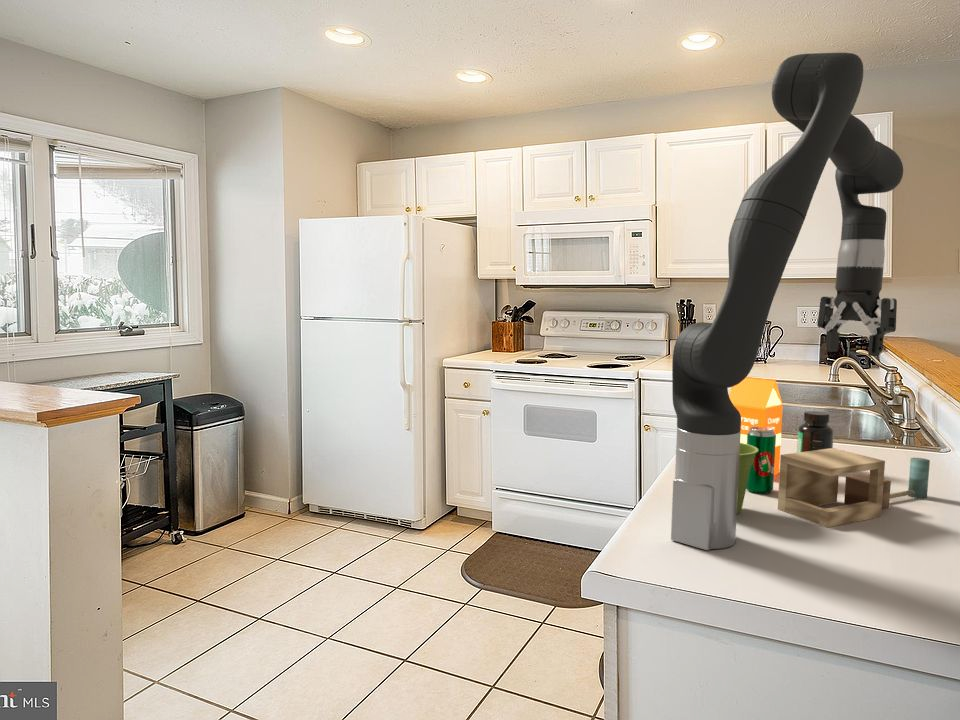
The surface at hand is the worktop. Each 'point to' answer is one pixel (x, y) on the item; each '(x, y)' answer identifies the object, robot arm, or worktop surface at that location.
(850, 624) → the worktop surface
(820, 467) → the box
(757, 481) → the soda can
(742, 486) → the plant pot
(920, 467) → the tethered block
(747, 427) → the orange juice
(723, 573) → the worktop surface
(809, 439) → the supplement bottle
